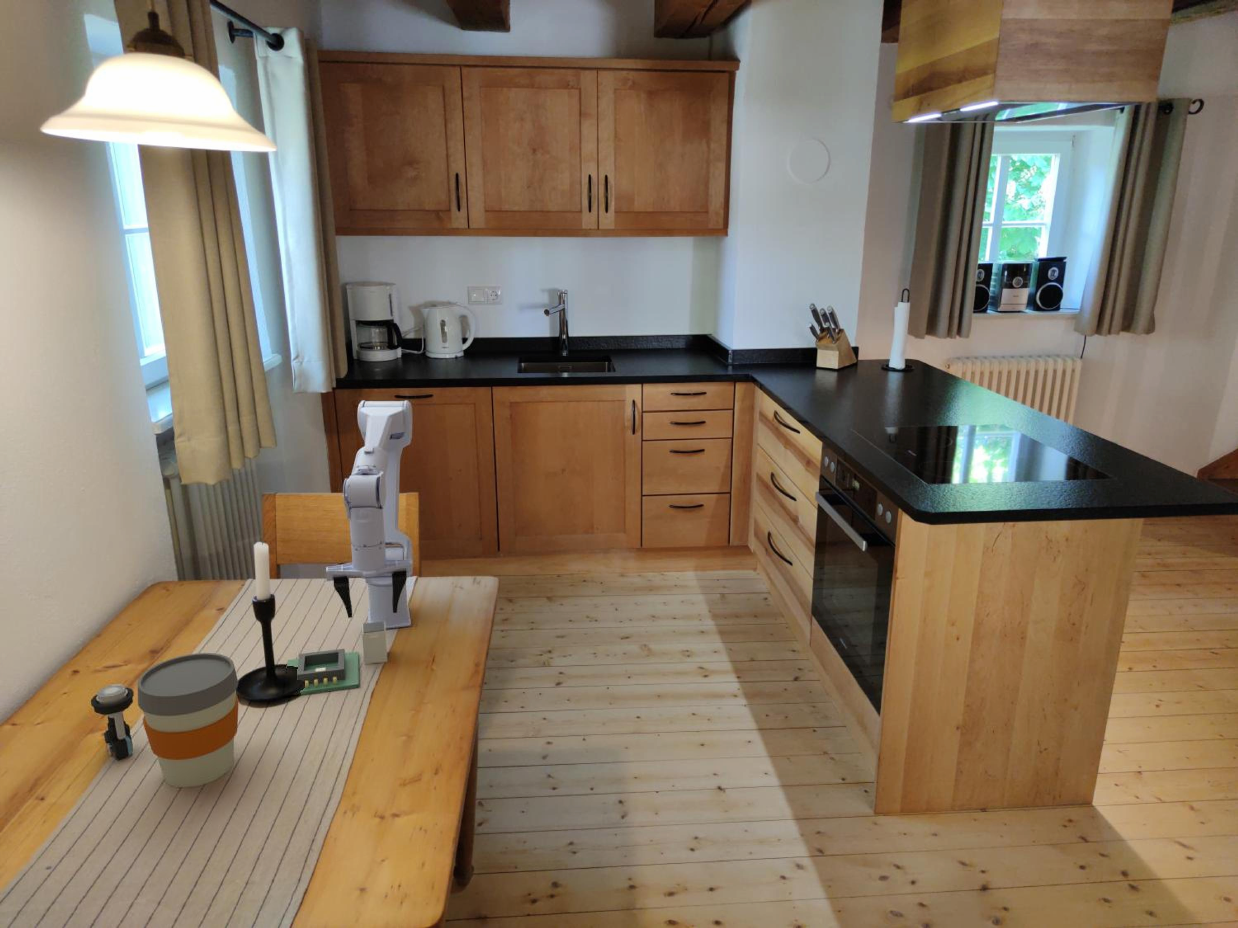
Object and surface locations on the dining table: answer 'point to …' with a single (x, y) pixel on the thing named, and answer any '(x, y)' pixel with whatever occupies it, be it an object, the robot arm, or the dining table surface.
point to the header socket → (327, 670)
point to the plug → (374, 642)
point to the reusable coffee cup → (191, 716)
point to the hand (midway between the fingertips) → (372, 612)
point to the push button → (115, 718)
